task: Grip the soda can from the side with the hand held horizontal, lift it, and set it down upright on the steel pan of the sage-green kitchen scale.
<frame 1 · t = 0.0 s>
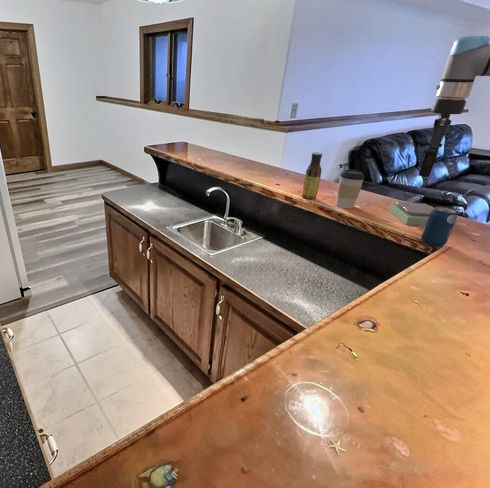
hand: (425, 171, 110), 23 cm above the counter, tool pointing down, fingers open, 13 cm apart
sauce bottle: (308, 198, 156), on the counter
coffee cup: (344, 206, 148), on the counter
soda can: (432, 243, 116), on the counter
scale pan: (417, 208, 134), point 4 cm above the counter, slide at 0.0 cm
scale: (417, 218, 136), on the counter
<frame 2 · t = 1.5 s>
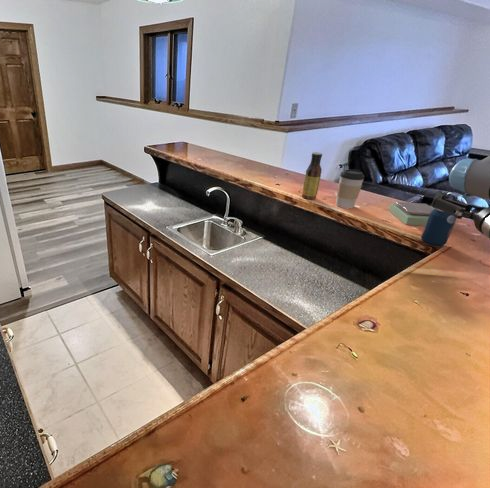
hand: (465, 198, 100), 19 cm above the counter, tool horizontal, fingers open, 13 cm apart
nothing on the counter moved.
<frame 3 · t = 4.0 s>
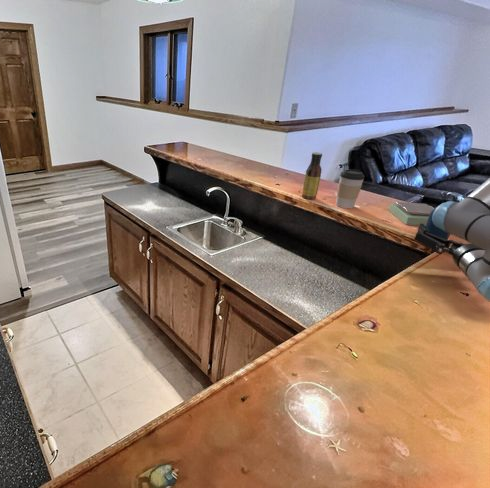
hand: (445, 230, 109), 7 cm above the counter, tool horizontal, fingers open, 13 cm apart
nothing on the counter moved.
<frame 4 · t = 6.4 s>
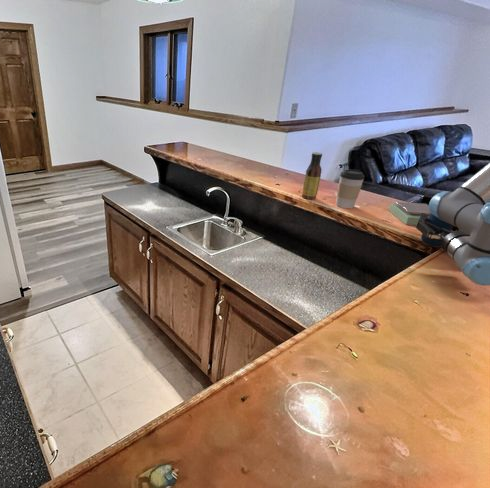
hand: (434, 218, 117), 7 cm above the counter, tool horizontal, fingers closed on soda can, 7 cm apart
soda can: (432, 243, 116), on the counter, touching gripper
everything else where it was.
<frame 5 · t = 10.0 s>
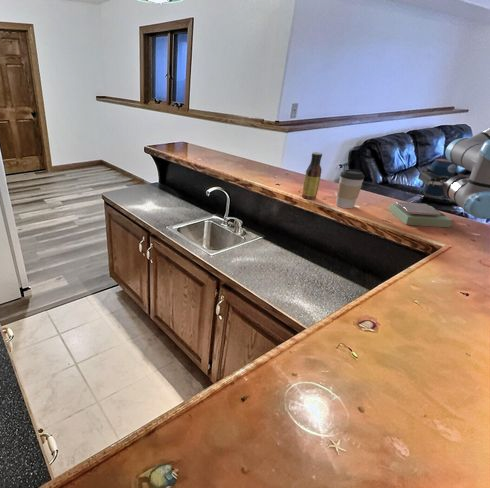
hand: (435, 171, 122), 20 cm above the counter, tool horizontal, fingers closed on soda can, 7 cm apart
soda can: (433, 195, 121), point 13 cm above the counter, touching gripper
everything else where it was.
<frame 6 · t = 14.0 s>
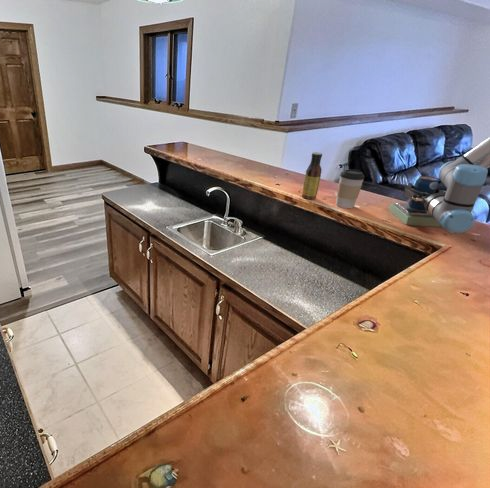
hand: (419, 187, 135), 11 cm above the counter, tool horizontal, fingers closed on soda can, 7 cm apart
soda can: (417, 208, 134), point 4 cm above the counter, touching gripper, scale pan
scale pan: (417, 209, 134), point 4 cm above the counter, slide at -0.3 cm, touching soda can
everything else where it was.
when the fingers open (11 cm above the counter, at t = 14.0 s): soda can stays where it is, resting on scale pan.
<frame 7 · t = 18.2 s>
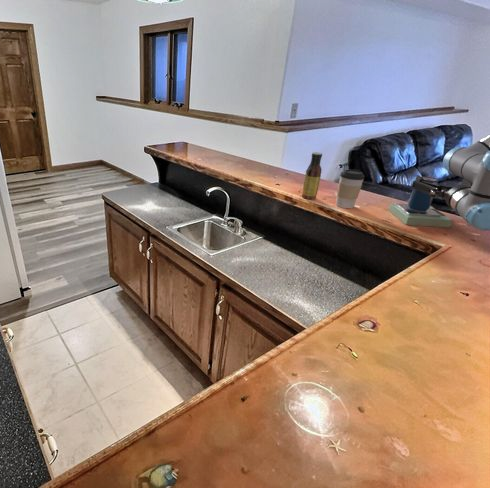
hand: (439, 180, 120), 18 cm above the counter, tool horizontal, fingers open, 13 cm apart
soda can: (417, 209, 134), point 4 cm above the counter, touching scale pan
everything else where it was.
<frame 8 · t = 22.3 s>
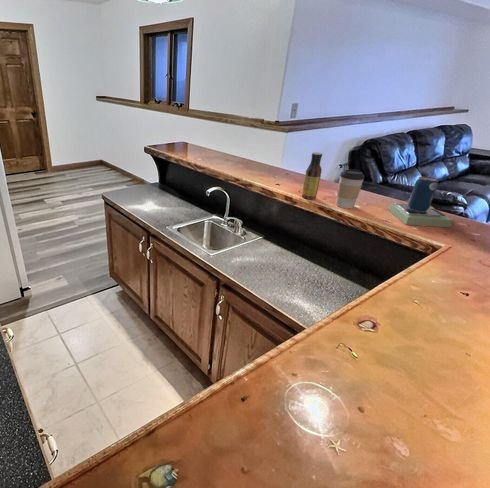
nothing on the counter moved.
at the end: soda can inside the target area on the scale (0.0 cm from its centre), point 3.7 cm above the scale's base; soda can tilted 0°; the gripper is holding nothing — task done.
